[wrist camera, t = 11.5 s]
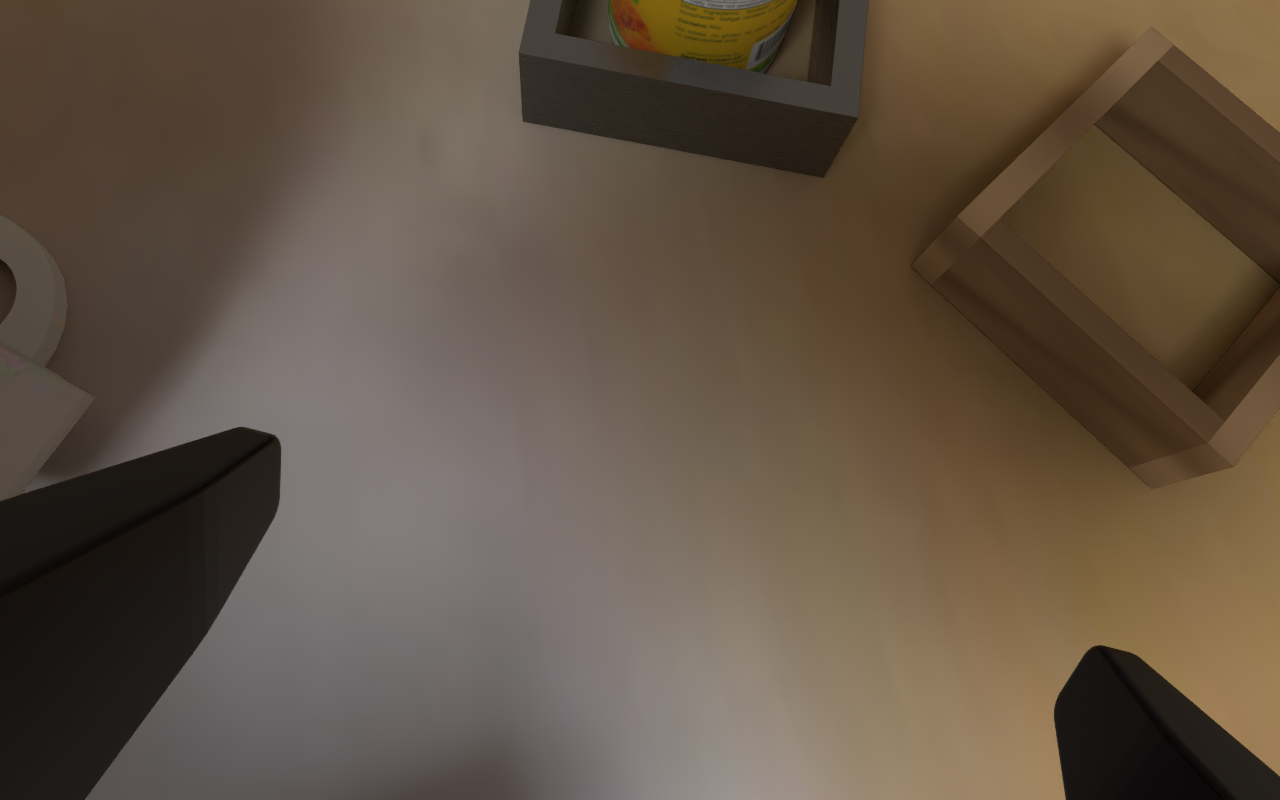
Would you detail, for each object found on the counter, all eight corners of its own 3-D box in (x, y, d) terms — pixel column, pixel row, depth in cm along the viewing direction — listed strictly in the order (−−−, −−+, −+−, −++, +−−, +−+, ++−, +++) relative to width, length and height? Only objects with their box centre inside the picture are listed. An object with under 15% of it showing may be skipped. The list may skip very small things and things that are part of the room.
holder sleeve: (1151, 488, 24) (1233, 466, 21) (910, 265, 25) (956, 216, 22) (1316, 286, 26) (1410, 241, 23) (1088, 91, 27) (1151, 26, 24)
